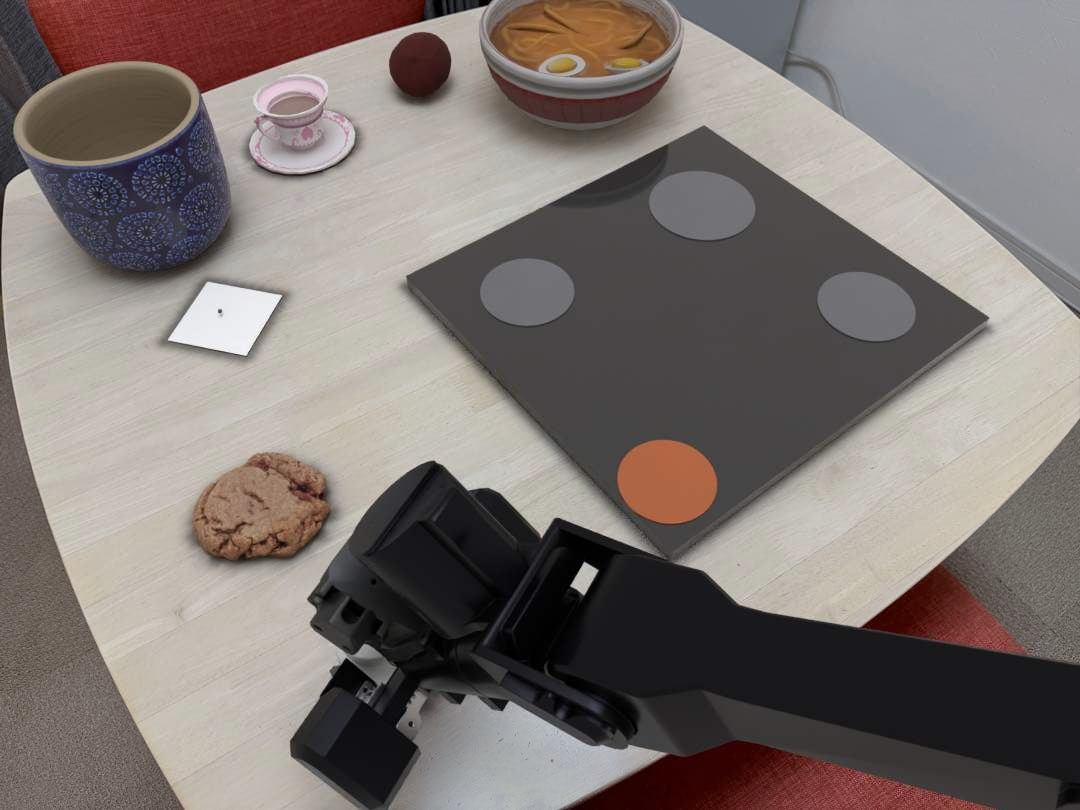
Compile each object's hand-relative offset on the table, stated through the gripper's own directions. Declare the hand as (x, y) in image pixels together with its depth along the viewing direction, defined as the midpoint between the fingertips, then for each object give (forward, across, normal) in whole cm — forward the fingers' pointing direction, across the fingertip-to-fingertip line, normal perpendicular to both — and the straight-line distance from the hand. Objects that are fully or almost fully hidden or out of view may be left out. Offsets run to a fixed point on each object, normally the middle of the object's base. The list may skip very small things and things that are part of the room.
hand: (363, 634), depth 58 cm
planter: (+38, -28, -28) cm, 55 cm away
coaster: (+28, -22, -19) cm, 40 cm away
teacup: (+35, -47, -26) cm, 65 cm away
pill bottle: (+4, 0, +6) cm, 7 cm away
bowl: (+18, -69, -9) cm, 72 cm away
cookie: (+16, -6, -6) cm, 18 cm away
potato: (+31, -63, -22) cm, 74 cm away
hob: (+1, -44, +9) cm, 45 cm away
